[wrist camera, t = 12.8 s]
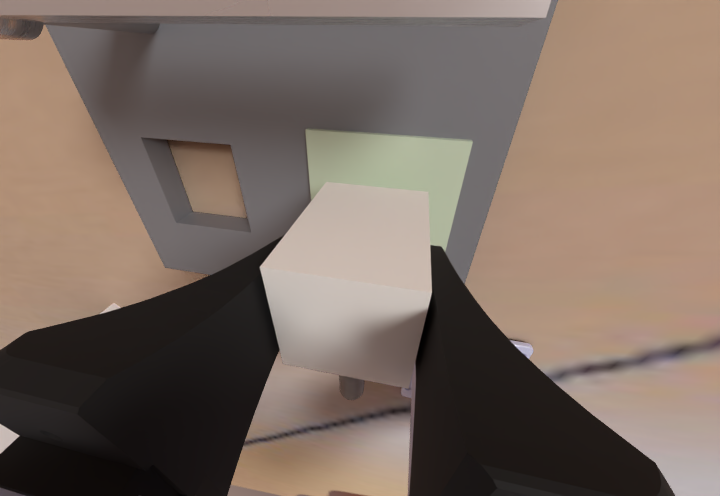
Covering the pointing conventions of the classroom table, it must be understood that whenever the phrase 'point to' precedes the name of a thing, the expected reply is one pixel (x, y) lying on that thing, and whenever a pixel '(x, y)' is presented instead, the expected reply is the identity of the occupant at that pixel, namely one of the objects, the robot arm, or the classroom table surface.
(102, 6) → the ball-topped lever
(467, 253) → the socket plate
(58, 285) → the classroom table surface
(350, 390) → the plug
